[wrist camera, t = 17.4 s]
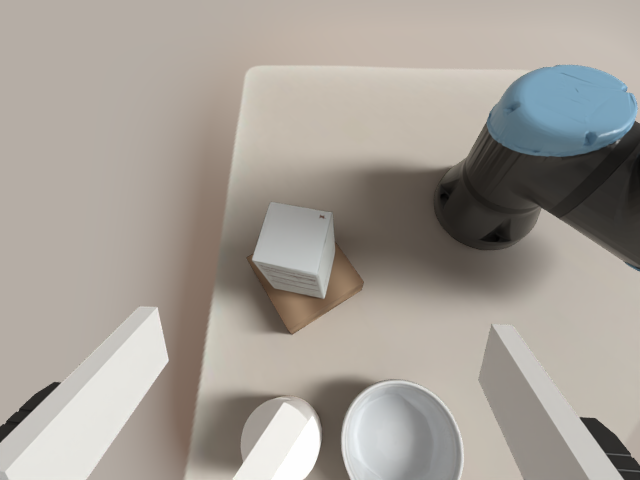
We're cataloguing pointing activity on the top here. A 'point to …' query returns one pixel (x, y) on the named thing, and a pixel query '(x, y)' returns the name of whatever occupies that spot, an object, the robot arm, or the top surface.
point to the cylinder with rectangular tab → (280, 440)
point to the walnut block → (308, 308)
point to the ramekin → (400, 435)
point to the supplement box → (296, 249)
